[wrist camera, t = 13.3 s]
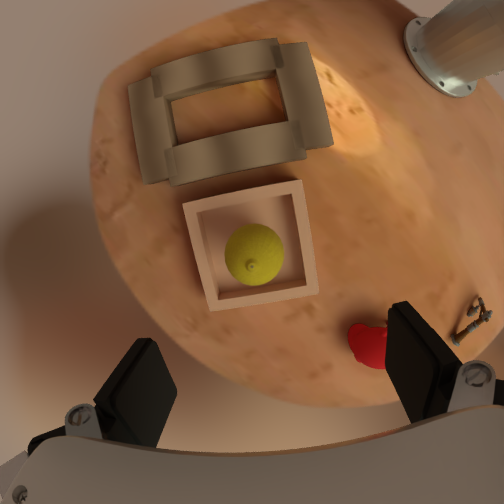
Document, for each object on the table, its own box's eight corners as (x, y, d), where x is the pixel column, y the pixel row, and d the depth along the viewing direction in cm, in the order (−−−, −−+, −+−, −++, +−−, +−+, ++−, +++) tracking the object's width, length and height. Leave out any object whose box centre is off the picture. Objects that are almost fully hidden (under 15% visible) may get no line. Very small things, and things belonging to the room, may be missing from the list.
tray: (298, 179, 29) (301, 179, 26) (314, 283, 32) (319, 293, 29) (190, 201, 30) (182, 203, 27) (214, 300, 33) (210, 311, 30)
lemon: (283, 219, 29) (290, 235, 21) (279, 270, 30) (283, 301, 23) (231, 216, 29) (218, 230, 21) (229, 266, 31) (217, 296, 23)
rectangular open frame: (301, 44, 24) (304, 34, 22) (330, 155, 28) (335, 153, 25) (135, 84, 26) (126, 78, 24) (154, 192, 30) (145, 193, 27)
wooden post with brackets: (486, 296, 30) (495, 317, 27) (452, 326, 35) (458, 347, 32) (482, 291, 30) (491, 313, 26) (447, 322, 35) (453, 344, 31)
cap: (419, 327, 29) (402, 328, 26) (406, 372, 29) (387, 379, 25) (370, 316, 36) (346, 314, 33) (359, 355, 35) (335, 358, 32)
